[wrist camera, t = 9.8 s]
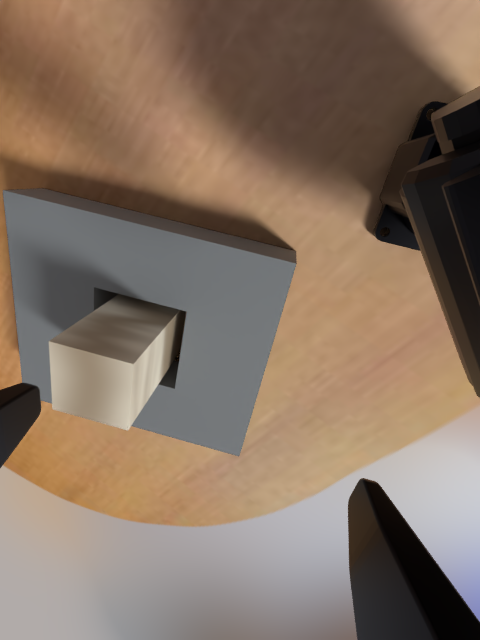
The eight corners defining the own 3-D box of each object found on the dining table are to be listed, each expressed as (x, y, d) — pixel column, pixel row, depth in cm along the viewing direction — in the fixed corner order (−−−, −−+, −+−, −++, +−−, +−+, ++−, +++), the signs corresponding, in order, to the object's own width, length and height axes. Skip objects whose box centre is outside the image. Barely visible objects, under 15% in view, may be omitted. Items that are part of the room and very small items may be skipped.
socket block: (296, 251, 19) (296, 263, 16) (245, 426, 25) (239, 456, 22) (42, 188, 20) (2, 190, 17) (52, 372, 26) (23, 395, 23)
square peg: (187, 301, 21) (133, 364, 14) (179, 351, 23) (127, 430, 16) (130, 286, 22) (48, 341, 14) (127, 337, 23) (52, 409, 16)
